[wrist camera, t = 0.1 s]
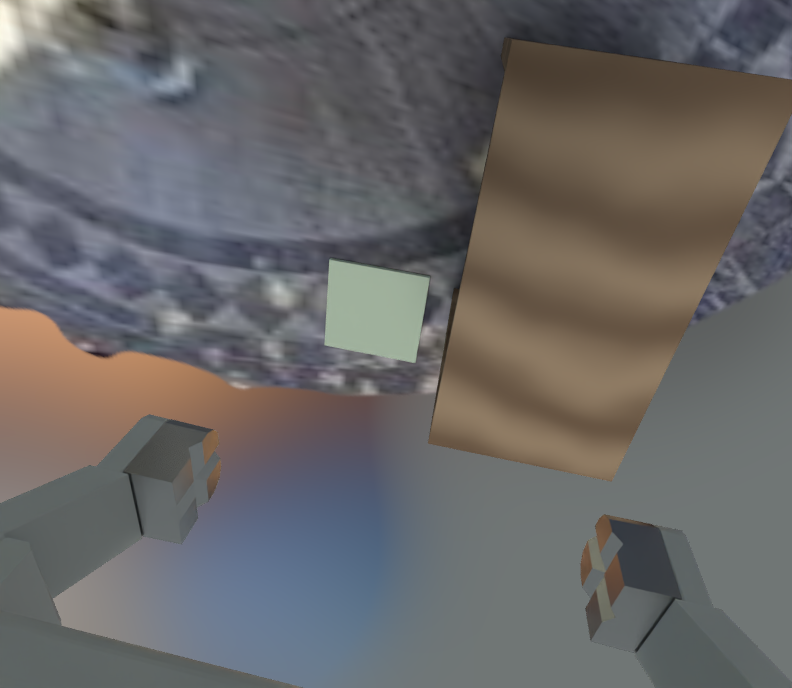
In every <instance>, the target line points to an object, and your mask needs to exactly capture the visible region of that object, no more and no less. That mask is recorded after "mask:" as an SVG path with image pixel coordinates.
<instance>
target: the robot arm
mask: <svg viewBox="0 0 792 688" xmlns="http://www.w3.org/2000/svg"><path fill="white" fill-rule="evenodd" d="M218 445H219V438H218V432H217V431H215V430H213V429H208V428H205V427H200V426H196V425H192V424H188V423H184V422H180V421H176V420H172V419H171V420H170V419H166V418H162V417H158V416H154V415H147V416H145V417H143V418H141V419H140V420H139V422H137V424H136V425H135V426H134V427H133V428H132V429H131V430H130V431H129V432H128V433H127V434H126V435H125V436H124V437H123V439H122V440H121V441H120V442H119V443H118V444H117V445H116V446H115V447H114V448H113V449H112V450H111V452H109V453H108V455H107V456H106V457H105V458H104V459H103V460H102V461H101V462H100V463H99V464H98V465H97V466H91V465H89V466H87V467H84V468H82V469H80V470H77V471H75V472H73V473H70V474H68V475H65V476H63V477H61V478H59V479H56V480H54V481H51V482H49V483H47V484H44V485H42V486H40V487H37V488H35V489H33V490H30V491H28V492H26V493H23V494H21V495H19V496H16V497H14V498H11V499H9V500H7V501H4V502H2V503H0V688H303V687H299V686H295V685H291V684H287V683H283V682H279V681H275V680H271V679H267V678H263V677H259V676H256V675H251V674H248V673H244V672H240V671H236V670H232V669H228V668H224V667H220V666H216V665H212V664H209V663H205V662H200V661H197V660H193V659H189V658H185V657H181V656H177V655H173V654H169V653H165V652H162V651H157V650H154V649H150V648H146V647H142V646H138V645H134V644H130V643H126V642H122V641H118V640H115V639H110V638H107V637H103V636H99V635H95V634H91V633H87V632H83V631H79V630H75V629H72V628H67V627H64V626H61V619H60V616H59V614H58V611H57V609H56V606H55V604H54V601H53V598H54V597H56V596H57V595H59V594H60V593H62V592H63V591H64V590H66V589H68V588H69V587H71V586H72V585H74V584H75V583H77V582H78V581H80V580H81V579H83V578H84V577H85V576H87V575H88V574H90V573H91V572H93V571H94V570H96V569H97V568H99V567H100V566H102V565H103V564H104V563H106V562H108V561H109V560H111V559H112V558H114V557H115V556H117V555H118V554H120V553H121V552H123V551H124V550H126V549H127V548H129V547H130V546H131V545H133V544H135V543H136V542H138V541H139V540H141V539H142V536H144V537H149V538H154V539H159V540H163V541H168V542H174V543H178V544H182V543H183V541H184V540H185V538H186V537H187V535H188V533H189V532H190V530H191V529H192V527H193V526H194V524H195V522H196V521H197V519H198V513H197V507H199V506H201V505H203V504H205V503H207V502H208V501H209V500H210V498H211V496H212V495H213V493H214V491H215V489H216V486H217V483H218V480H219V478H220V471H221V460H220V458H219V456H218V455H217V454H216V453H215V449H216V448H217V446H218ZM595 529H596V534H597V536H596V537H594V538H592V539H590V540H588V541H587V543H586V546H585V548H584V550H583V553H582V559H581V582H582V588H583V589H584V590H585V591H586V593H587V594H588V595H589V597H590V598H591V599H590V601H589V603H588V605H587V606H586V608H585V609H586V616H587V622H588V628H589V634H590V640H591V642H594V643H598V644H602V645H606V646H609V647H614V648H617V649H621V650H625V651H629V652H632V653H636V654H635V657H636V658H637V660H638V661H639V663H640V665H641V666H642V668H643V669H644V671H645V672H646V674H647V675H648V677H649V678H650V680H651V682H652V683H653V684H654V686H655V688H792V682H791V681H790V680H789V679H788V678H787V676H786V675H785V674H784V673H783V672H782V671H781V670H780V669H779V668H778V667H777V666H776V665H775V664H774V663H773V662H772V661H771V660H770V659H769V658H768V657H767V656H766V655H765V654H764V653H763V652H762V651H761V650H760V649H759V648H758V646H757V645H756V644H755V643H754V642H753V641H752V640H751V639H750V638H749V637H748V636H747V635H746V634H745V633H744V632H743V631H742V630H741V629H740V628H739V627H738V626H737V625H736V624H735V623H734V622H733V621H732V620H731V619H730V618H729V617H728V615H727V614H726V613H725V612H724V611H723V610H721V609H717V608H714V607H713V605H712V602H711V600H710V597H709V594H708V592H707V589H706V586H705V584H704V581H703V578H702V576H701V573H700V571H699V568H698V565H697V563H696V560H695V558H694V555H693V553H692V550H691V547H690V545H689V542H688V540H687V537H686V535H685V534H684V533H683V532H682V531H681V530H676V529H672V528H667V527H662V526H657V525H652V524H648V523H643V522H639V521H634V520H629V519H624V518H619V517H614V516H610V515H605V514H604V515H602V516H601V517H600V518H599V520H598V522H597V523H596V525H595Z"/></svg>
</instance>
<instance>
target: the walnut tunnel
mask: <svg viewBox="0 0 792 688" xmlns="http://www.w3.org/2000/svg"><path fill="white" fill-rule="evenodd" d="M501 59H502V63H503V67H504V71H505V73H504V77H503V82H502V87H501V92H500V97H499V102H498V106H497V111H496V116H495V121H494V126H493V130H492V135H491V140H490V145H489V150H488V155H487V159H486V164H485V169H484V174H483V179H482V183H481V188H480V193H479V198H478V203H477V207H476V212H475V217H474V222H473V227H472V232H471V236H470V241H469V246H468V251H467V256H466V260H465V265H464V270H463V275H462V280H461V285H460V289H456V288H454V292H453V296H452V302H451V308H450V314H449V320H448V326H447V332H446V338H445V344H444V350H443V356H442V362H441V368H440V374H439V380H438V386H437V392H436V398H435V405H434V411H433V416H432V423H431V429H430V435H429V441H428V443H429V444H433V445H438V446H443V447H448V448H453V449H457V450H462V451H467V452H472V453H477V454H482V455H487V456H491V457H496V458H502V459H506V460H511V461H516V462H520V463H525V464H530V465H535V466H540V467H544V468H549V469H554V470H559V471H564V472H569V473H574V474H578V475H583V476H588V477H593V478H597V479H602V480H607V481H612V479H613V477H614V475H615V473H616V471H617V469H618V467H619V465H620V463H621V461H622V459H623V457H624V455H625V453H626V451H627V449H628V447H629V445H630V443H631V441H632V439H633V437H634V434H635V433H636V430H637V428H638V426H639V425H640V422H641V420H642V418H643V416H644V414H645V412H646V410H647V408H648V406H649V404H650V402H651V400H652V398H653V396H654V394H655V392H656V390H657V388H658V386H659V384H660V382H661V380H662V378H663V376H664V374H665V371H666V369H667V367H668V365H669V363H670V361H671V359H672V357H673V355H674V353H675V351H676V349H677V347H678V345H679V343H680V341H681V339H682V337H683V335H684V333H685V331H686V329H687V327H688V325H689V323H690V320H691V318H692V316H693V314H694V312H695V310H696V308H697V306H698V304H699V302H700V300H701V298H702V296H703V294H704V292H705V290H706V288H707V286H708V284H709V282H710V280H711V278H712V276H713V274H714V271H715V269H716V267H717V265H718V263H719V261H720V259H721V257H722V255H723V253H724V251H725V249H726V247H727V245H728V243H729V241H730V239H731V237H732V235H733V233H734V231H735V229H736V227H737V225H738V223H739V220H740V218H741V216H742V214H743V212H744V210H745V208H746V206H747V204H748V202H749V200H750V198H751V196H752V194H753V192H754V190H755V188H756V186H757V184H758V182H759V180H760V178H761V176H762V174H763V172H764V169H765V167H766V165H767V163H768V161H769V159H770V157H771V155H772V153H773V151H774V149H775V147H776V145H777V143H778V141H779V139H780V137H781V135H782V133H783V131H784V129H785V127H786V125H787V123H788V120H789V118H790V116H791V114H792V80H790V79H783V78H777V77H770V76H763V75H757V74H750V73H744V72H737V71H730V70H724V69H717V68H710V67H704V66H697V65H691V64H684V63H677V62H671V61H664V60H657V59H650V58H643V57H637V56H630V55H623V54H616V53H609V52H602V51H595V50H588V49H581V48H574V47H567V46H560V45H553V44H546V43H539V42H532V41H525V40H519V39H512V38H504V43H503V48H502V53H501Z"/></svg>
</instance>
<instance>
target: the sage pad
mask: <svg viewBox="0 0 792 688" xmlns="http://www.w3.org/2000/svg"><path fill="white" fill-rule="evenodd" d="M429 281H430V276H428V275H423V274H417V273H412V272H406V271H401V270H395V269H389V268H384V267H378V266H373V265H367V264H362V263H356V262H351V261H345V260H340V259H334V258H330V260H329V277H328V295H327V313H326V330H325V345H326V346H331V347H336V348H341V349H346V350H352V351H357V352H362V353H367V354H372V355H377V356H382V357H387V358H393V359H398V360H403V361H408V362H413V363H415V362H416V357H417V351H418V345H419V339H420V333H421V328H422V322H423V316H424V310H425V304H426V298H427V293H428V287H429Z"/></svg>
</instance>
